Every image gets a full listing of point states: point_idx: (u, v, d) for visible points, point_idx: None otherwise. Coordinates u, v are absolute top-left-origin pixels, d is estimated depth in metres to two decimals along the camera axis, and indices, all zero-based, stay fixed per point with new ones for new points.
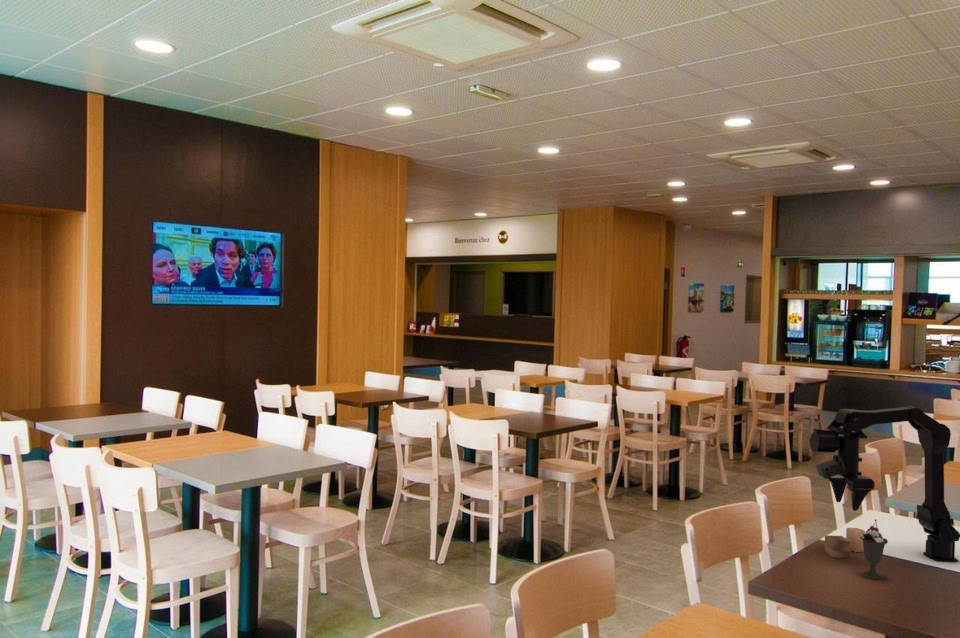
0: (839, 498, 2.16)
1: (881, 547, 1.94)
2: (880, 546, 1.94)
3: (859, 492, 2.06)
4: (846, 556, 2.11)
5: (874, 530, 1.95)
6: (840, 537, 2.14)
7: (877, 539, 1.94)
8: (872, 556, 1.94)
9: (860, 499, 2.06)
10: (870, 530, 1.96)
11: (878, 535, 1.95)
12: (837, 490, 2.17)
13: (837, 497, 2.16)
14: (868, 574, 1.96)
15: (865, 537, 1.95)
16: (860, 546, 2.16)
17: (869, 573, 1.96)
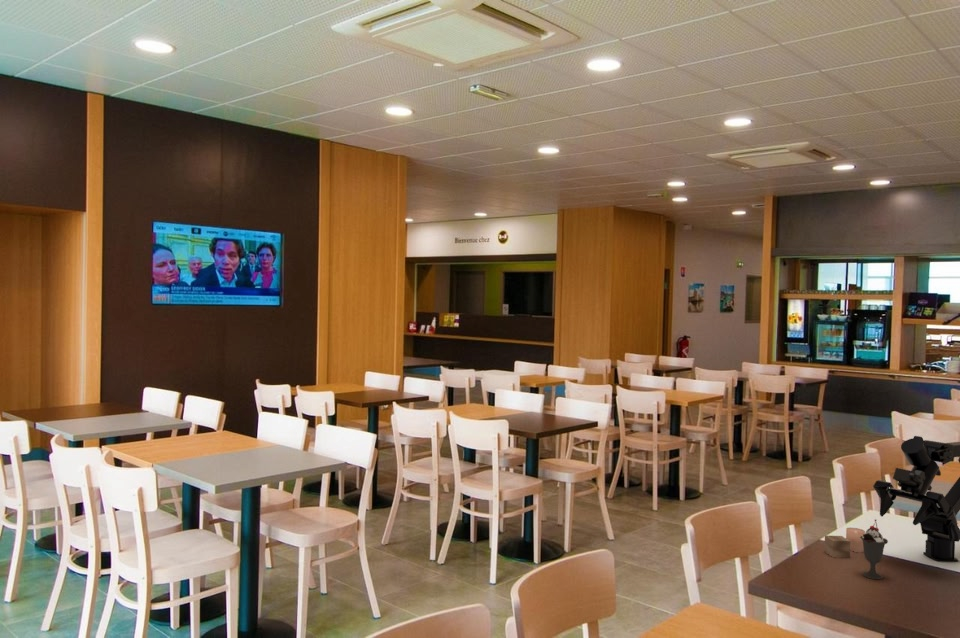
0: (883, 513, 2.06)
1: (881, 547, 1.94)
2: (880, 546, 1.94)
3: (927, 510, 1.98)
4: (846, 556, 2.11)
5: (874, 530, 1.95)
6: (840, 537, 2.14)
7: (877, 539, 1.94)
8: (872, 556, 1.94)
9: (924, 517, 1.98)
10: (870, 530, 1.96)
11: (878, 535, 1.95)
12: (885, 505, 2.07)
13: (883, 510, 2.06)
14: (868, 574, 1.96)
15: (865, 537, 1.95)
16: (860, 546, 2.16)
17: (869, 573, 1.96)
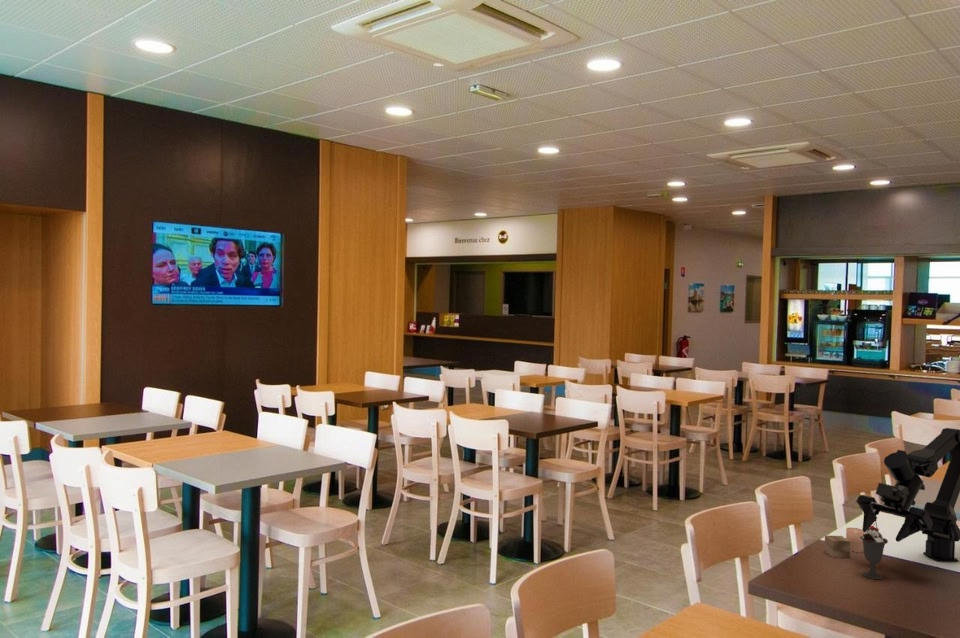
0: (866, 528, 2.02)
1: (881, 547, 1.94)
2: (880, 546, 1.94)
3: (910, 526, 1.95)
4: (846, 556, 2.11)
5: (874, 530, 1.95)
6: (840, 537, 2.14)
7: (877, 539, 1.94)
8: (872, 556, 1.94)
9: (908, 534, 1.94)
10: (870, 530, 1.96)
11: (878, 535, 1.95)
12: (868, 520, 2.03)
13: (866, 526, 2.02)
14: (868, 574, 1.96)
15: (865, 537, 1.95)
16: (860, 546, 2.16)
17: (869, 573, 1.96)
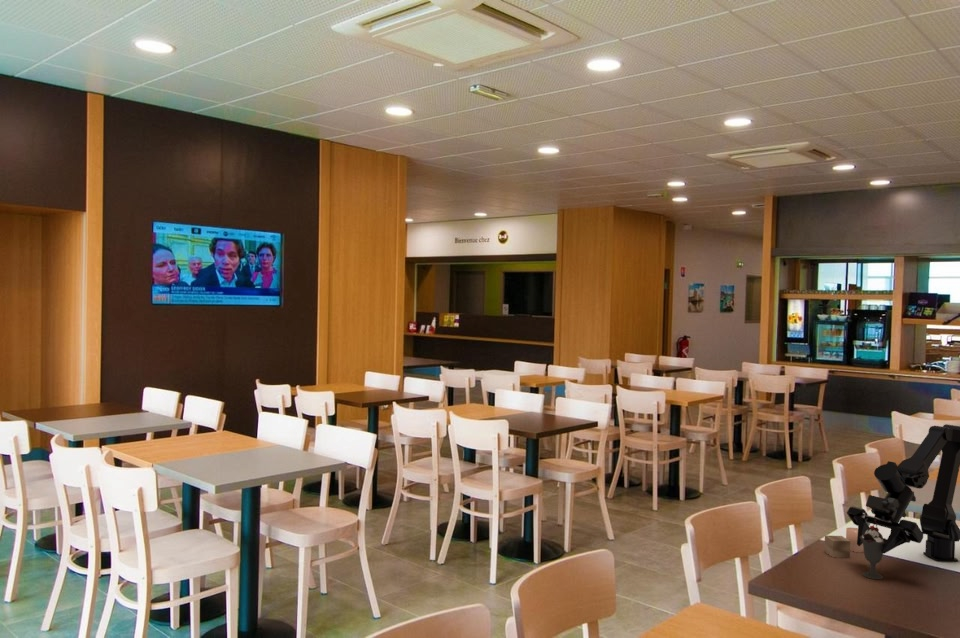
0: (860, 542, 1.99)
1: (881, 547, 1.94)
2: (880, 546, 1.94)
3: (896, 538, 1.94)
4: (846, 556, 2.11)
5: (874, 530, 1.95)
6: (840, 537, 2.14)
7: (877, 539, 1.94)
8: (872, 556, 1.94)
9: (894, 545, 1.93)
10: (870, 530, 1.96)
11: (878, 535, 1.95)
12: (862, 534, 2.00)
13: (860, 540, 1.99)
14: (868, 574, 1.96)
15: (865, 537, 1.95)
16: (860, 546, 2.16)
17: (869, 573, 1.96)
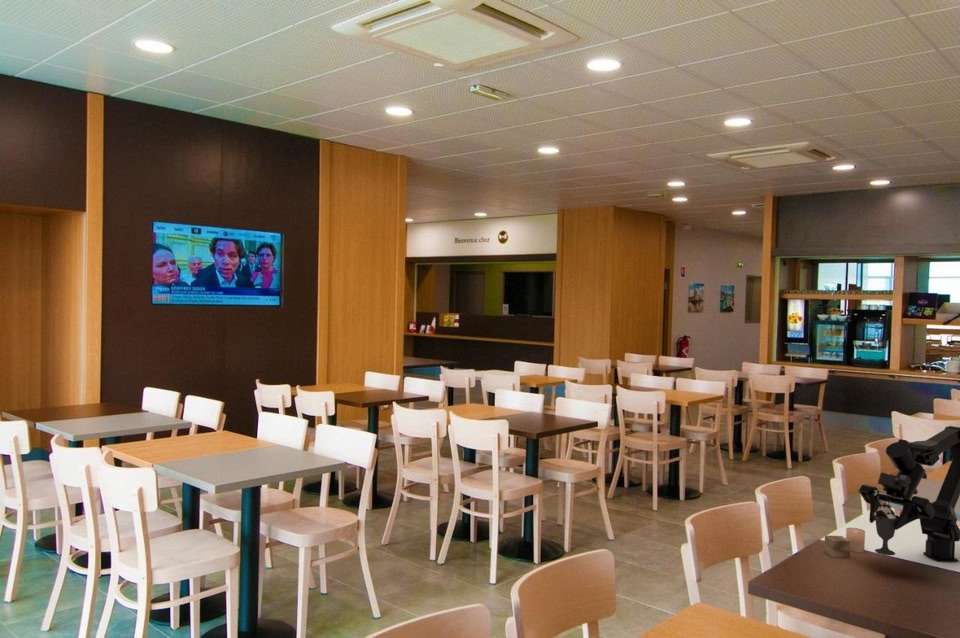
0: (873, 519, 2.01)
1: (893, 523, 1.96)
2: (892, 522, 1.96)
3: (909, 514, 1.96)
4: (846, 556, 2.11)
5: (886, 507, 1.98)
6: (840, 537, 2.14)
7: (889, 516, 1.96)
8: (884, 532, 1.97)
9: (906, 522, 1.95)
10: (882, 507, 1.98)
11: (890, 512, 1.97)
12: (874, 511, 2.02)
13: (872, 517, 2.01)
14: (881, 550, 1.98)
15: (877, 514, 1.98)
16: (860, 546, 2.16)
17: (881, 549, 1.98)
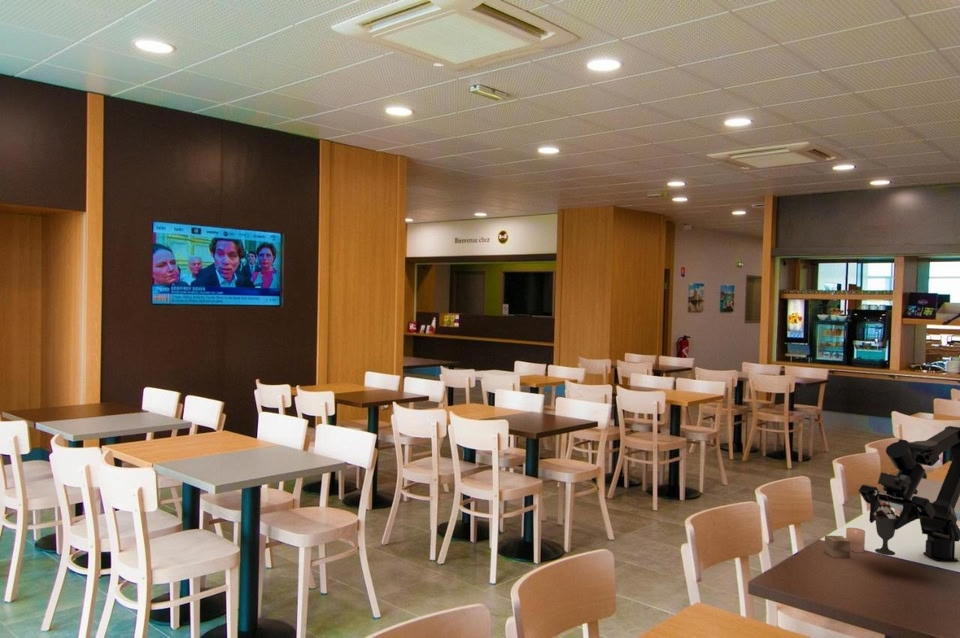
0: (873, 519, 2.01)
1: (893, 523, 1.96)
2: (892, 522, 1.96)
3: (909, 514, 1.96)
4: (846, 556, 2.11)
5: (886, 507, 1.98)
6: (840, 537, 2.14)
7: (889, 515, 1.96)
8: (884, 532, 1.97)
9: (906, 522, 1.95)
10: (882, 507, 1.98)
11: (890, 512, 1.97)
12: (874, 511, 2.02)
13: (872, 517, 2.01)
14: (881, 550, 1.98)
15: (877, 514, 1.98)
16: (860, 546, 2.16)
17: (881, 549, 1.98)
